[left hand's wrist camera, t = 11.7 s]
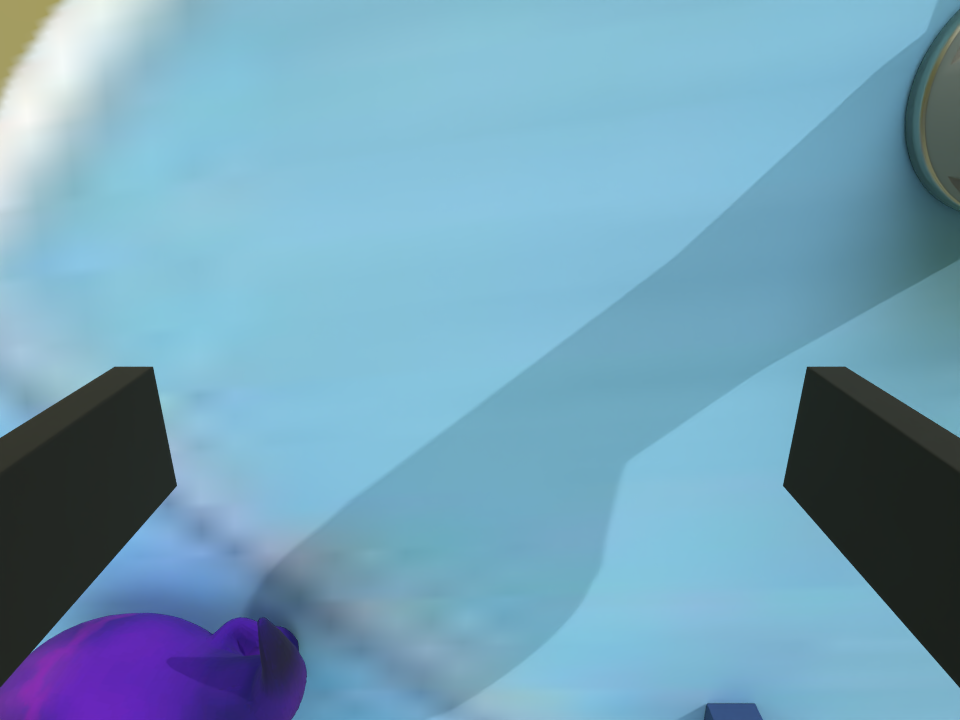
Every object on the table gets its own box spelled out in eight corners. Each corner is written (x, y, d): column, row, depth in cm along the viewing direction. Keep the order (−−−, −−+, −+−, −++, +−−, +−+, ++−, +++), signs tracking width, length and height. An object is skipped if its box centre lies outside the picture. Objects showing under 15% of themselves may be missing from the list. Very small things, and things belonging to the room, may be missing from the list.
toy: (385, 643, 55) (132, 675, 60) (297, 521, 45) (5, 572, 50) (348, 861, 42) (31, 877, 47) (214, 757, 32) (-165, 792, 38)
